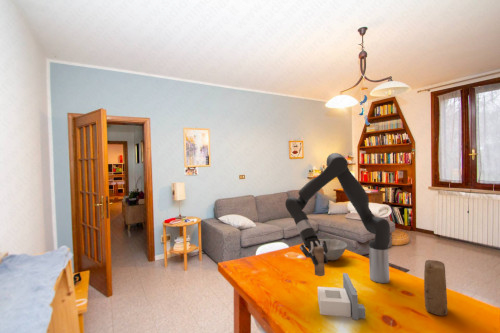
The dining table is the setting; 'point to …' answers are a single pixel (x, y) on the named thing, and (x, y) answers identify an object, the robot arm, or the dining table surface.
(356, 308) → the backstop
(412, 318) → the dining table surface
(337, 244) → the ceramic bowl
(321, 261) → the dowel
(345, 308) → the socket
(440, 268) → the block
